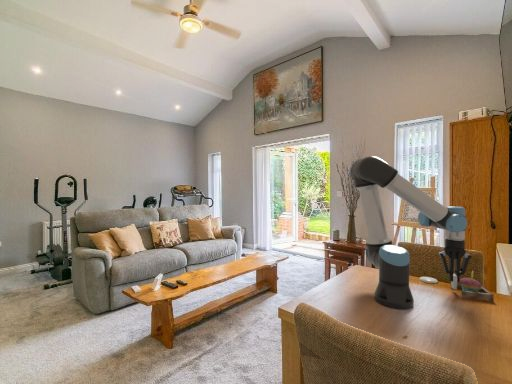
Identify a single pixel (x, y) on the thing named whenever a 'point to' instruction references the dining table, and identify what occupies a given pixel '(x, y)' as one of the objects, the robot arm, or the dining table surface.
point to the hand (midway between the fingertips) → (454, 288)
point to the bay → (477, 294)
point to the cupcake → (469, 284)
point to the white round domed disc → (428, 280)
